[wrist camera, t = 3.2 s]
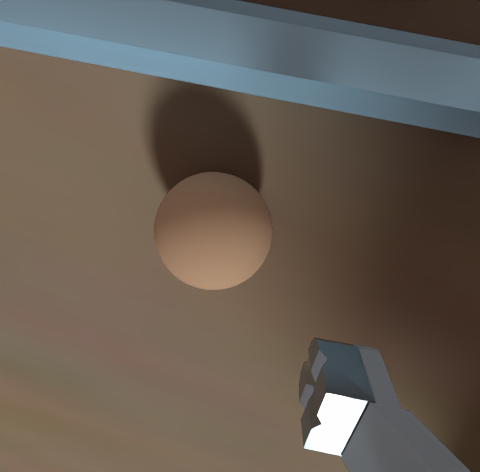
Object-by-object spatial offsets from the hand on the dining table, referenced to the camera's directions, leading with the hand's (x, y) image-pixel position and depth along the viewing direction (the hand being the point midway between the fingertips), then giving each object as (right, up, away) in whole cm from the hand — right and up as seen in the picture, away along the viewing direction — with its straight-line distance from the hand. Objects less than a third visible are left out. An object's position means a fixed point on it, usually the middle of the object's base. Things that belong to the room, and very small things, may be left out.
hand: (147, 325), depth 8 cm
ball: (+1, +2, +6) cm, 7 cm away
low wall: (+3, +10, +5) cm, 11 cm away
